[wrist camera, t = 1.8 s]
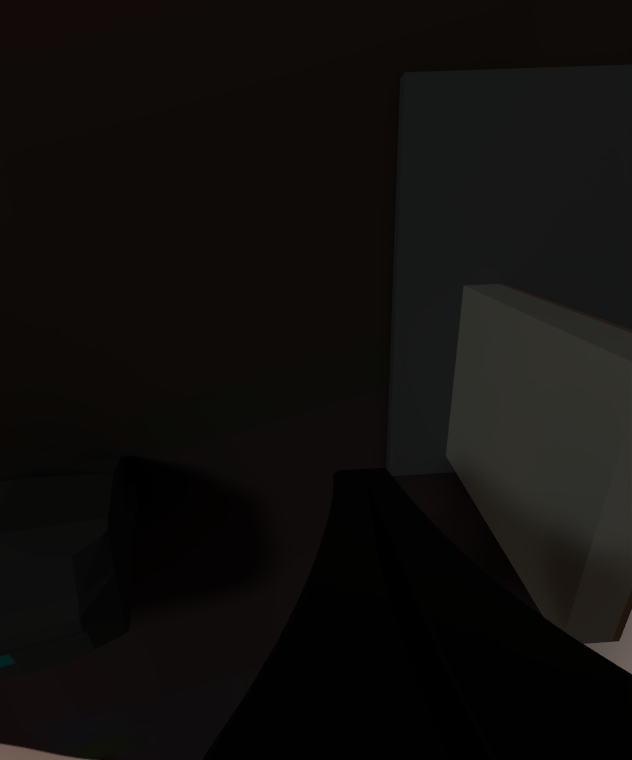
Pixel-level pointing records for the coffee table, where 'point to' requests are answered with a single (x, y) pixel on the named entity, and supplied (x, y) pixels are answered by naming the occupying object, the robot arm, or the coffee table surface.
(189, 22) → the coffee table surface
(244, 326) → the coffee table surface
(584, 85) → the mat
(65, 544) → the gun
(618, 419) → the tile
